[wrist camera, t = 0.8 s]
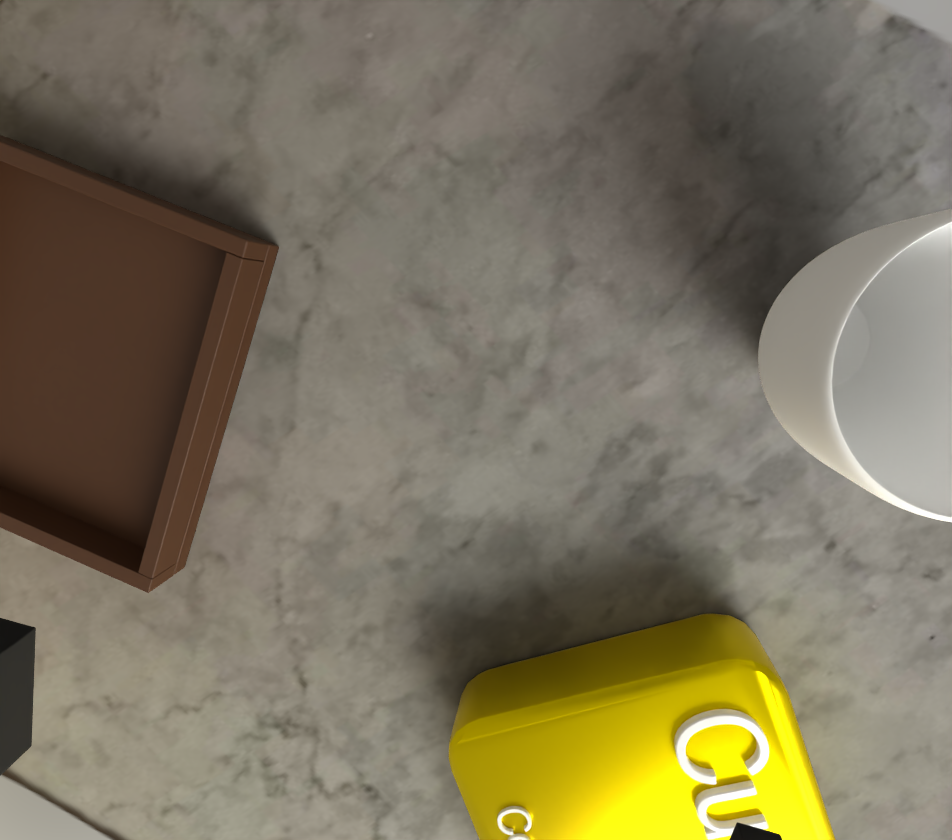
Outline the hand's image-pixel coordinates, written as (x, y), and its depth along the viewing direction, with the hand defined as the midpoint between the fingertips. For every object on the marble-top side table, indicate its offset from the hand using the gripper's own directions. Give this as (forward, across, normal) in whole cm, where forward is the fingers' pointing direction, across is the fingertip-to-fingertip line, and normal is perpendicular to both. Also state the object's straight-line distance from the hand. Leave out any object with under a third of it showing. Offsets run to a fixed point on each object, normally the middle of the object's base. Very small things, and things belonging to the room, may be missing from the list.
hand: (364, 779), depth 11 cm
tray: (+20, -20, 0) cm, 28 cm away
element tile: (+18, +12, -14) cm, 25 cm away
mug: (+19, +15, +8) cm, 25 cm away
